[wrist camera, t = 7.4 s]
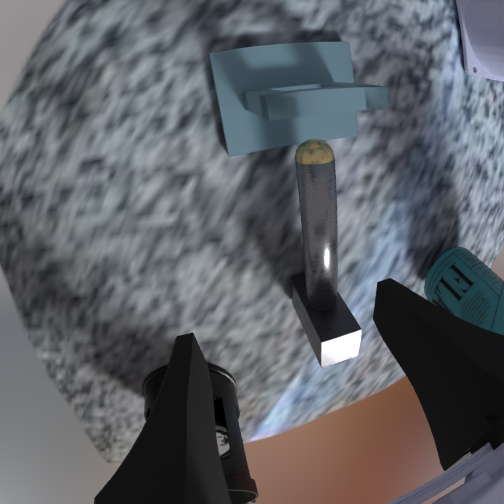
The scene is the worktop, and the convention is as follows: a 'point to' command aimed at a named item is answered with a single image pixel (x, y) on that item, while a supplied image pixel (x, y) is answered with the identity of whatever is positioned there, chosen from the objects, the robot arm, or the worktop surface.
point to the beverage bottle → (467, 289)
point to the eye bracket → (289, 94)
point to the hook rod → (321, 259)
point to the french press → (218, 430)
